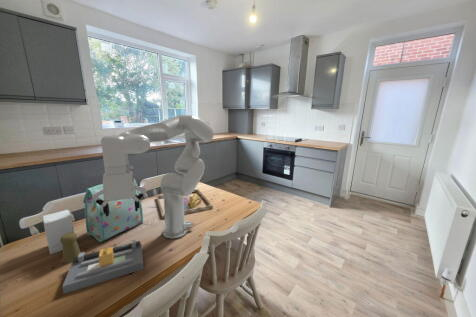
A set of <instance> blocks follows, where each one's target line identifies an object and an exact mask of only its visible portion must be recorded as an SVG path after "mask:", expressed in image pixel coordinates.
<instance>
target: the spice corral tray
mask: <svg viewBox="0 0 476 317" xmlns="http://www.w3.org/2000/svg"><path fill="white" fill-rule="evenodd" d="M193 192H198V193H199V194H200V195H201V196H200V195H199V194H198V193H197V194H198V195H199V196H200V197H201V199H202V198H203V199H204V200H205V201H204V200H203V199H202V200H203V201H204V202H205V203H206V205H203V206H197V207H195V208H193V209H188V210H184V216H185V215H189V214H194V213H198V212H203V211H207V210H212V209H214V208H213V207H214V206H213V204H212V202H210V201H209V199H208V197H206V196H205V195H204V194H203V192H201V190H199V189H198V188H195V189H194V191H193ZM155 198H157V199H156V201H157V202H156V203H157V204H158V205H157V206H158V208H159V212H160V216H161V218H162V220H165V213H164V211H163V208H162V204H161V201H160V199H159V198H161V199H164V198H163V194H159V195H156V197H155Z"/></svg>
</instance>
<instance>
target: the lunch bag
mask: <svg viewBox="0 0 476 317" xmlns="http://www.w3.org/2000/svg"><path fill="white" fill-rule="evenodd" d="M134 181H135V185H136V186H138V184H137V181H136V179H135V178H134ZM101 190H103V183H102V184H98V185H97V184H96V185H94V186H92V187H89V188H86V190H85V194H84V197H83V200H82V203H83V204H84V211H85V212H84V214H85V229H86V232H87V234H88V235H91V236H92V237H93V238H94V239H95V240H96V241H97V242H99V243H102V242H103V241H104V242H105V241H106V240H108V239H111V238H112V237H114V236H116V235H118V234H120V233H122V232H125V231H126V230H129V229H131V228H134V227H136V226H139V225H141V224H143V223H144V215H143V214H144V213H143V207H142V200H141V199H140V200H139V207H140V208H138V211H135V200H134V199H132V198H129V199H122V200H115V201H109V202H108V204H109V212H110V213H109V216H107V217H106V214H104V212H103V207H102V206H101V205H99V204H98V203H96V201H95V200H94V199H93V198H92V196H93V195H94V194H95V193H97V192H99V191H101ZM135 194H136V195H139V194H140V191H139V190H136V193H135ZM98 197H99V198H100V199H102V200H103V201H104V196H103V194H102V195H100V196H98Z"/></svg>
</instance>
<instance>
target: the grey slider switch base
mask: <svg viewBox="0 0 476 317" xmlns="http://www.w3.org/2000/svg"><path fill="white" fill-rule="evenodd" d="M142 246H143V244H142V243H141V241H140V240H137V241H136V239H131V241H130V242H129V243H126V244H122V245H121V244H120V245H118V246H115V247H113V246H112V247H113V253H114V263H113V264H109V265H106V266H102V267H100V262H99V253H100V250H99V251H94V252H91V253H87V254H85V253H86V252H85V251H83V252H81V253H79V255H78V257H74V258H73V262H71V265H70V267H69V269H68V272H67V274H66V277H65V279H64V281H63V284H62V286H61V287H62V291H63V292H62V293H63V294H64V295H66V294H68V293H72V292H75V291H78V290H81V289H84V288H87V287H88V288H89V287H91V286H94V285H97V284H101V283H105V282H106V281H109V280H113V279H115V278H116V279H117V278H118V277H122V276H125V275H129V274H131V273H134V272H138V271H141V270H144V259H143V257H144V256H143V247H142Z"/></svg>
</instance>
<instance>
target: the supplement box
mask: <svg viewBox="0 0 476 317" xmlns="http://www.w3.org/2000/svg"><path fill="white" fill-rule="evenodd" d="M42 222H43V227H44V233H45V237H46V242H47V245H48V246H47V247H48V250H49V254H50V255H52V254H56V253H58V252H61V251H62V252H63V244H62V243H61V242H60V238H61V237H62V236H63V235H65V234H67V233H71V232H74V233H75V229H74V224H73V217H72V215H71V212H70V211H69V209H64V210H61V211H58V212H54V213H50V214H45V215H42Z"/></svg>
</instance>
